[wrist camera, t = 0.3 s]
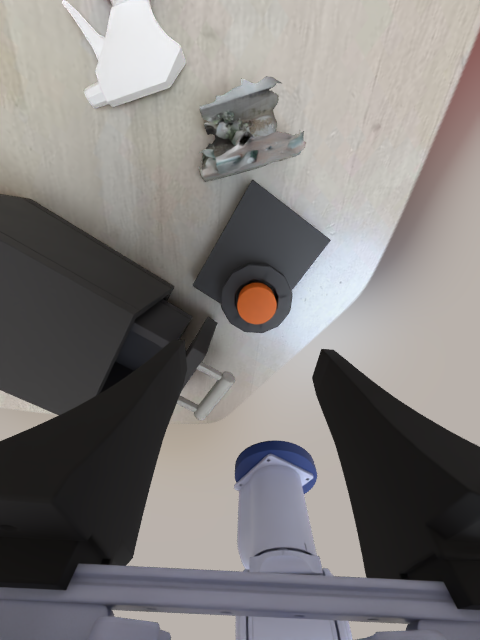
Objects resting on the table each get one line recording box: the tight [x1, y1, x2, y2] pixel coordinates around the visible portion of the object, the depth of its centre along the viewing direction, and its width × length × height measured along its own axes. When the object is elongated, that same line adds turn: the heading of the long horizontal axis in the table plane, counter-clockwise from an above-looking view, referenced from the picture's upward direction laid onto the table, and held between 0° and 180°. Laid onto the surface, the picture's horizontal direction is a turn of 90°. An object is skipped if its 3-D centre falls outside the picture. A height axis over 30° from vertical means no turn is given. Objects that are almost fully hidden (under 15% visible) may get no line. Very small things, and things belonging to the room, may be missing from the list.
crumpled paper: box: [198, 76, 306, 182], centre depth 13 cm, size 4×8×7 cm, turn 104°
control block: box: [193, 180, 330, 333], centre depth 18 cm, size 10×9×4 cm
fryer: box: [0, 194, 174, 415], centre depth 18 cm, size 15×13×8 cm
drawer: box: [100, 299, 235, 420], centre depth 20 cm, size 18×11×6 cm, turn 57°
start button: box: [237, 282, 277, 324], centre depth 17 cm, size 3×3×2 cm
